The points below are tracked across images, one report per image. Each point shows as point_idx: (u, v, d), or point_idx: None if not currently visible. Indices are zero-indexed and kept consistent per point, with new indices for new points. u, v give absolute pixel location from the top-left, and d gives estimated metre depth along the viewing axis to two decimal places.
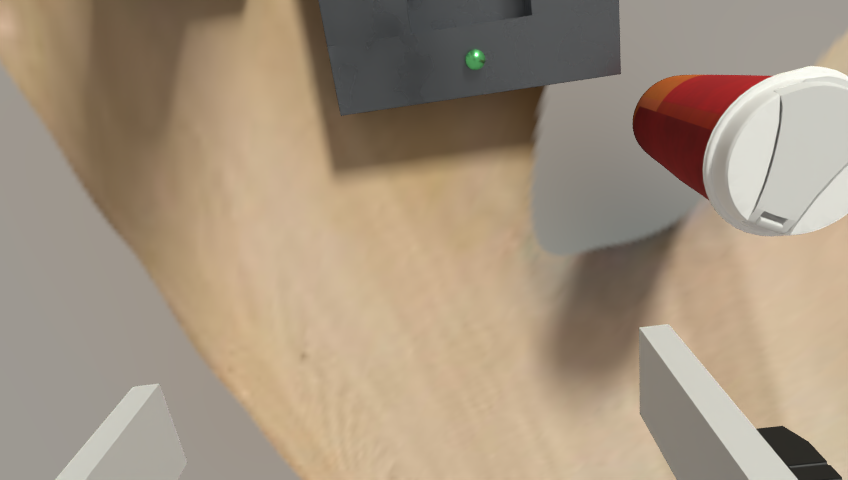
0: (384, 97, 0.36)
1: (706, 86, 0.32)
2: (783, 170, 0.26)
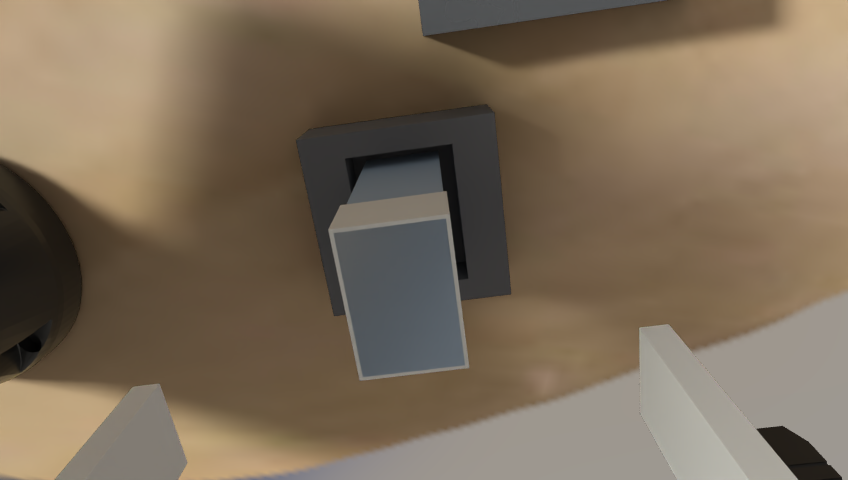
0: None
1: None
2: None
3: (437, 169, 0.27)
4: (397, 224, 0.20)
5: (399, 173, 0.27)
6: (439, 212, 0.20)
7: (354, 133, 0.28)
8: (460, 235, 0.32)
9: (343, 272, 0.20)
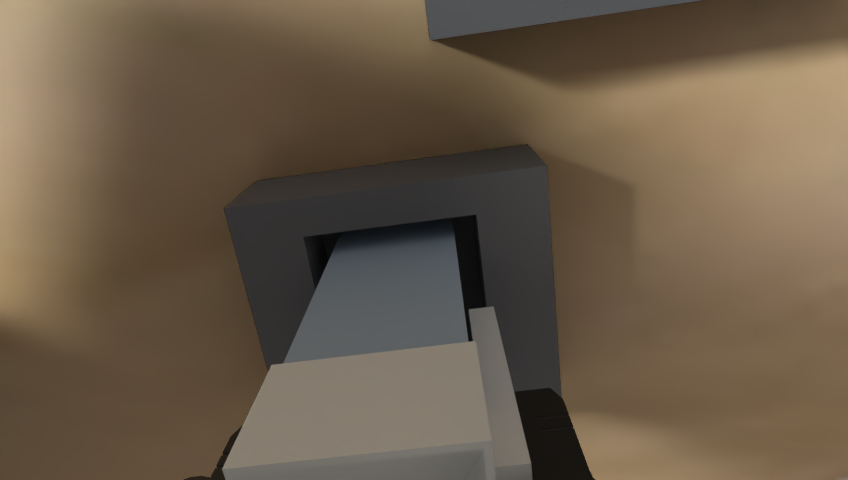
0: None
1: None
2: None
3: (453, 263, 0.16)
4: (374, 457, 0.09)
5: (390, 268, 0.16)
6: (467, 430, 0.09)
7: (318, 198, 0.17)
8: None
9: None
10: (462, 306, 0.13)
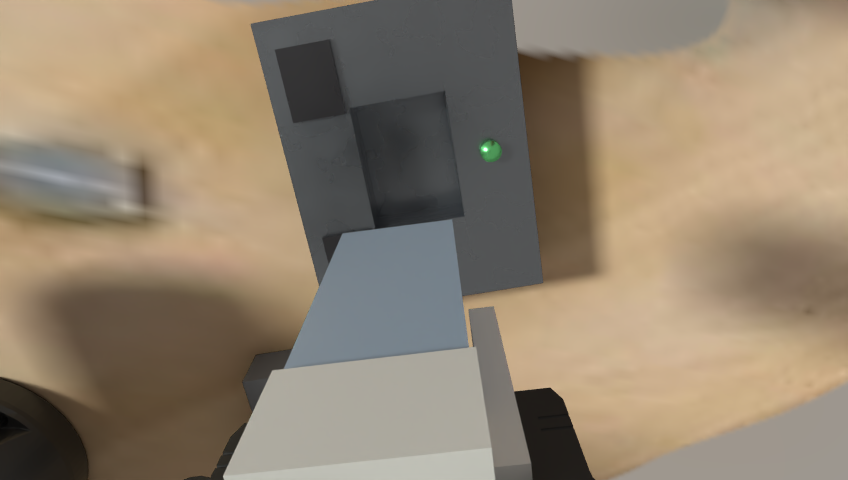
0: (526, 241, 0.34)
1: None
2: None
3: (453, 268, 0.16)
4: (375, 463, 0.09)
5: (390, 272, 0.16)
6: (467, 437, 0.09)
7: None
8: None
9: None
10: (462, 311, 0.13)
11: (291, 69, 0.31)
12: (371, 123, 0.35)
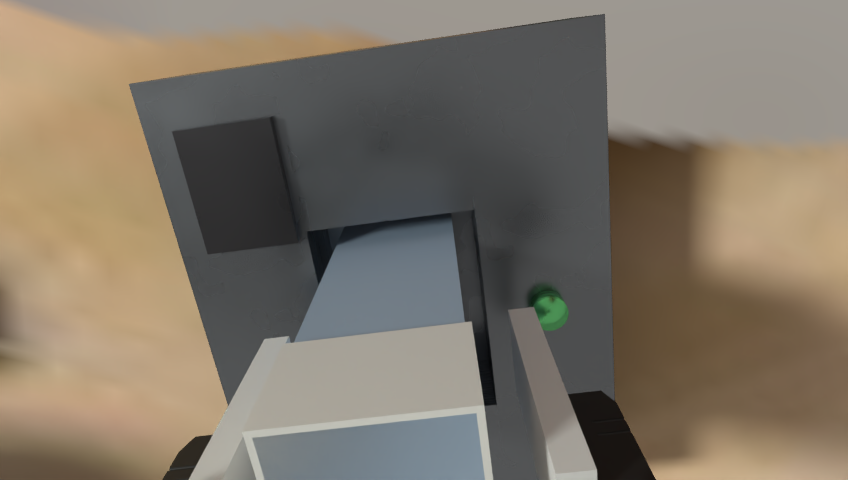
0: None
1: None
2: None
3: (451, 253, 0.17)
4: (379, 420, 0.10)
5: (391, 258, 0.17)
6: (462, 397, 0.10)
7: None
8: None
9: None
10: (459, 291, 0.14)
11: (202, 166, 0.17)
12: None
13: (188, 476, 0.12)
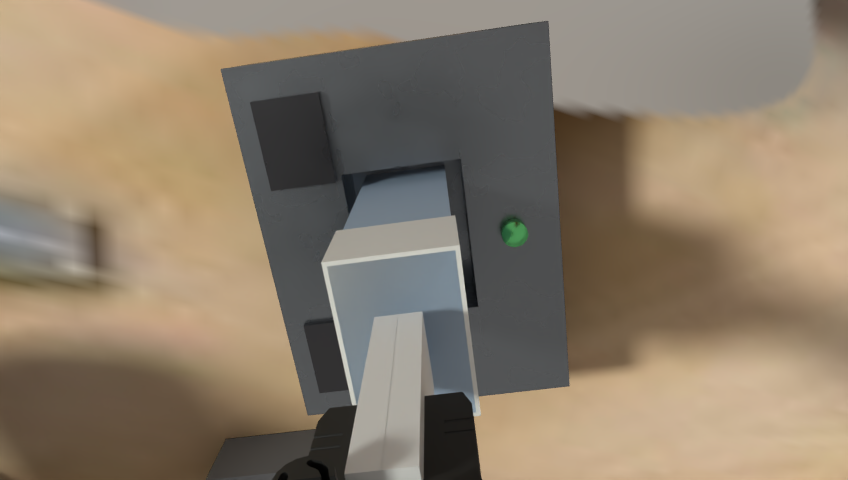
0: (551, 338, 0.28)
1: None
2: None
3: (444, 187, 0.24)
4: (400, 256, 0.17)
5: (402, 191, 0.24)
6: (447, 243, 0.17)
7: (256, 476, 0.32)
8: None
9: (338, 310, 0.18)
10: (448, 204, 0.22)
11: (270, 127, 0.24)
12: None
13: (336, 443, 0.13)
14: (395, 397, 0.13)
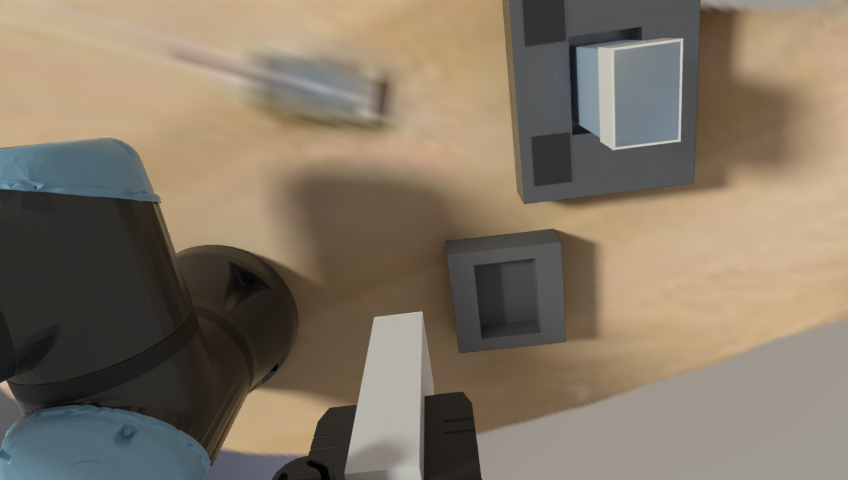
0: (685, 148, 0.45)
1: None
2: None
3: (636, 40, 0.41)
4: (651, 45, 0.34)
5: (609, 43, 0.41)
6: (675, 39, 0.34)
7: (480, 252, 0.49)
8: (534, 304, 0.54)
9: (615, 76, 0.35)
10: None
11: (531, 5, 0.41)
12: (569, 53, 0.46)
13: (336, 443, 0.13)
14: (395, 397, 0.13)
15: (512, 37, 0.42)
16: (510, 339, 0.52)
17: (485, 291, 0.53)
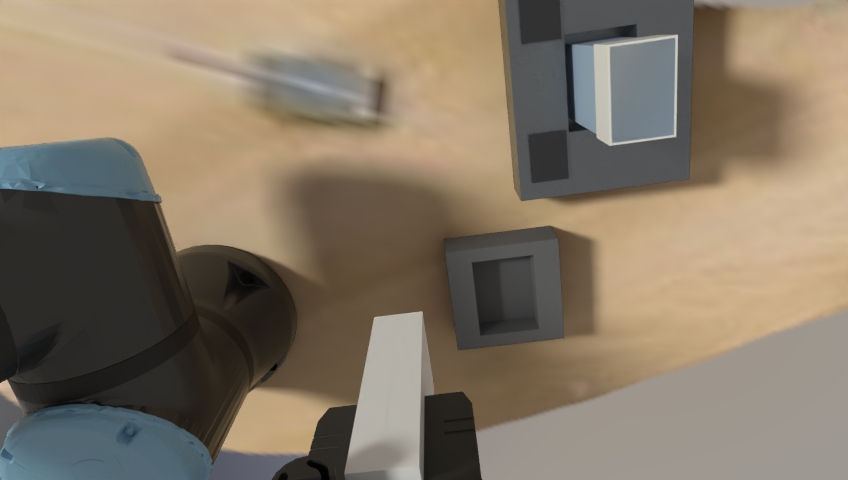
0: (681, 144, 0.46)
1: None
2: None
3: (631, 37, 0.41)
4: (646, 41, 0.34)
5: (605, 41, 0.42)
6: (670, 35, 0.35)
7: (478, 249, 0.49)
8: (532, 301, 0.54)
9: (611, 72, 0.35)
10: None
11: (527, 3, 0.42)
12: None
13: (336, 443, 0.13)
14: (395, 397, 0.13)
15: (508, 35, 0.43)
16: (508, 336, 0.52)
17: (483, 288, 0.53)
